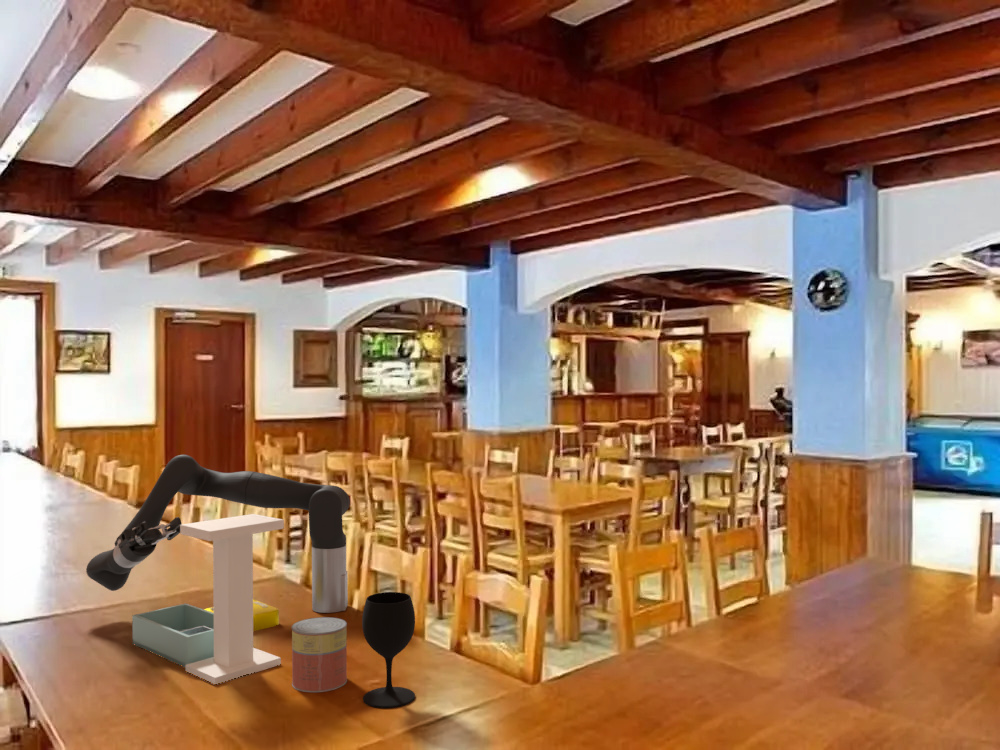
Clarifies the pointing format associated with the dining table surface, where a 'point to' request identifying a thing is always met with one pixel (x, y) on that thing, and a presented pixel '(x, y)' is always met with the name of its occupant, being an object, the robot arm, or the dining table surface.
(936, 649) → the dining table surface
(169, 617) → the bin
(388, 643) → the wine glass
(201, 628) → the brushed metal dustpan
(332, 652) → the canned food
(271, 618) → the element tile
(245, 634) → the white i-beam pedestal
